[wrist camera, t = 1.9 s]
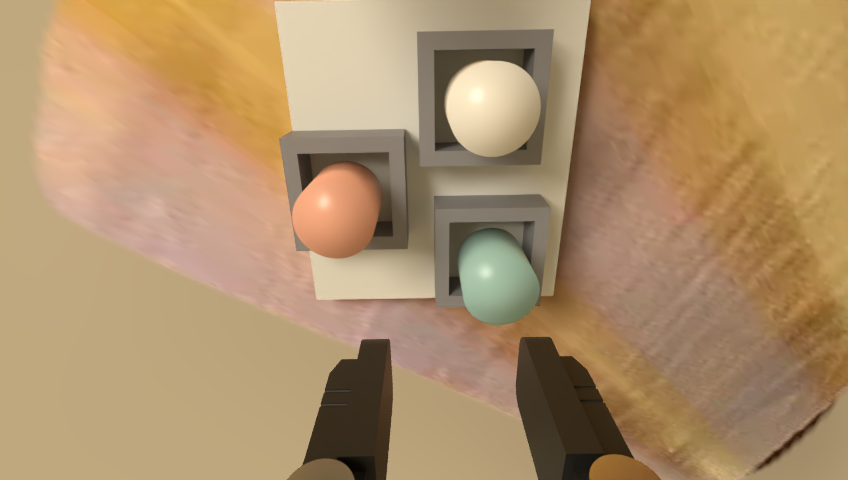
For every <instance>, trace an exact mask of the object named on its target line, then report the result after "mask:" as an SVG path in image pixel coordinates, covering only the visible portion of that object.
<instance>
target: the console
mask: <svg viewBox="0 0 848 480" xmlns="http://www.w3.org/2000/svg"><path fill="white" fill-rule="evenodd" d="M274 3H275V11H276V18H277V25H278V32H279V39H280V46H281V53H282V60H283V67H284V74H285V81H286V88H287V95H288V102H289V109H290V116H291V123H292V130H293V131H292V132H290V133H288V134H286V135H285V136H283V137H281V138H279V140H280V147H281V153H282V160H283V166H284V172H285V179H286V185H287V192H288V198H289V204H290V211H291V217H292V212H293V207H294V204H295V202H296V200H297V198H298V197H299V195H300V194H301V193H302V192H303V191H304V190H305V188H306V187H307V186H308V185H309V184H310V183H311V182H312V181H313V179H314V178H315V177H316V176H317V175H318V174H319V173H320V172H321V171H322V170H323V169H324V168H325V167H326V166H328V165H330V164H332V163H334V162H338V161H353V162H357V163H359V164H362V165H364V166H365V167H367V168H368V169H370V170H371V171H372V172H373V173H374V174H375V176H376V177H377V179H378V180H379V182H380V185H381V188H382V192H383V200H382V205H381V209H380V213H379V216H378V220H377V224H376V227H375V231H374V234H373V237H372V239H371V241H370V242H369V244H368V245H367V246H366V247H365V248H364V249H363V250H362V251H360V252H359V253H357V254H355V255H353V256H350V257H347V258H339V259H336V258H328V257H324V256H321V255H319V254H316V253H315V252H313V251H311V250H310V249H308V248H307V247H306V246H305V245H304V244H303V243H302V242H301V240H300V239H299V237H298V236H297V234H296V232H295V229H294V226H293V230H294V237H295V243H296V249H297V251H310V257H311V264H312V271H313V278H314V285H315V292H316V299H317V300H336V299H398V298H435V303H436V308H437V307H466V306H465V303H464V299H463V293H462V288H461V282H460V276H459V270H458V264H457V254H458V250H459V247H460V245H461V244H462V242H463V241H464V240H465V239H466V238H467V237H468V236H469V235H470V234H472V233H473V232H475V231H477V230H480V229H484V228H499V229H503V230H505V231H508V232H509V233H511V234H512V235H513V236H514V237H515V238H516V239H517V240H518V242H519V244H520V246H521V248H522V249H523V251H524V253H525V255H526V257H527V259H528V261H529V263H530V265H531V267H532V269H533V271H534V273H535V274H536V276H537V279H538V282H539V287H540V292H539V297H538V300H537V302H536V304H535V306H540V300H541V296H553V293H554V285H555V277H556V270H557V262H558V254H559V246H560V238H561V230H562V223H563V215H564V207H565V199H566V191H567V183H568V176H569V168H570V160H571V152H572V144H573V136H574V129H575V121H576V113H577V105H578V97H579V89H580V82H581V74H582V66H583V58H584V50H585V42H586V35H587V27H588V19H589V11H590V3H591V0H326V1H274ZM481 60H488V61H504V62H509V63H512V64H515V65H517V66H519V67H521V68H522V69H523V70H525V71H526V72H527V73H528V74H529V75H530V76H531V78H532V79H533V80H534V82H535V84H536V86H537V88H538V91H539V95H540V101H541V111H540V117H539V121H538V124H537V126H536V128H535V130H534V132H533V134H532V135H531V137H530V138H529V139H528V140H527V141H526V142H525V143H524V144H523V145H522V146H521V147H520V148H518V149H517V150H515V151H513V152H511V153H509V154H506V155H503V156H498V157H485V156H480V155H477V154H474V153H472V152H470V151H469V150H467V149H466V148H465V147H463V146H462V145H461V144H460V143H459V141H458V140H457V139H456V137H455V136H454V134H453V132H452V129H451V127H450V124H449V122H448V119H447V117H446V114H445V109H444V96H445V91H446V88H447V85H448V83H449V81H450V80H451V78H452V77H453V75H454V74H455V73H456V72H457V71H458V70H459V69H461V68H462V67H463V66H465V65H467V64H469V63H472V62H475V61H481ZM292 224H293V221H292Z"/></svg>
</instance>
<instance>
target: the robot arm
mask: <svg viewBox="0 0 848 480" xmlns="http://www.w3.org/2000/svg"><path fill="white" fill-rule="evenodd" d="M516 395H517V402H518V407H519V411H520V414H521V418H522V422H523V425H524V429H525V432H526V436H527V440H528V443H529V447H530V450H531V454H532V458H533V462H534V465H535V469H536V473H537V476H538V480H661V479H660V478H659V476H658V475H657V474H656V473H655V472H654V471H653V470H651V469H650V468H649V467H648V466H646V465H645V464H643V463H641V462H640V461H638V460H635V459H634V457H633V456H632V454H631V452H630V450H629V448H628V446H627V445H626V443H625V441H624V439H623V437H622V435H621V433H620V431H619V429H618V427H617V426H616V424H615V422H614V420H613V418H612V416H611V414H610V412H609V410H608V408H607V407H606V405H605V403H603V399H602V397H601V395H600V393H599V391H598V389H596V386H595V384H594V382H593V380H592V378H591V376H590V374H589V372H588V371H587V369H586V368H585V367H583V366H582V365H581V364H580V363H579V362H578V361H577V360H576V359H574V358H573V357H572V356H559V354H558V352H557V350H556V347H555V345H554V343H553V341H552V339H551V338H550V337H522V338H521V340H520V345H519V356H518V367H517V377H516ZM392 401H393V383H392V366H391V350H390V340H389V339H366V340H362V341H361V345H360V350H359V354H358V359H342V360H341V361H340V362H339V363H338V364H337V365H336V367H335V368H334V369H333V370H332V371H331V372H330V374H329V377H328V381H327V384H326V388H325V393H324V395H323V398H322V401H321V407H320V408H319V412H318V415H317V418H316V422H315V425H314V429H313V432H312V436H311V439H310V442H309V446H308V449H307V453H306V456H305V459H304V462H303V465H302V466H301V467H300V468H298V469H297V470H296V471H295V472H294V473H293V474H292V475H291V476H290V477H289V478H288V479H287V480H386V474H387V462H388V451H389V439H390V427H391V416H392Z"/></svg>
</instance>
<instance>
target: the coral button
mask: <svg viewBox="0 0 848 480" xmlns="http://www.w3.org/2000/svg"><path fill="white" fill-rule="evenodd" d="M382 200H383V192H382V188H381V185H380V182H379V180H378V179H377V177H376V176H375V174H374V173H373V172H372V171H371V170H370V169H368V168H367V167H365V166H364V165H362V164H359V163H357V162H353V161H338V162H334V163H332V164H330V165H328V166H326V167H325V168H324V169H323V170H322V171H321V172H320V173H319V174H318V175H317V176H316V177H315V178H314V179H313V181H312V182H311V183H310V184H309V185H308V186H307V187H306V188H305V190H304V191H303V192H302V193H301V194H300V195H299V197H298V198H297V200H296V202H295V204H294V207H293V212H292V221H293V226H294V229H295V232H296V234H297V236H298V237H299V239H300V240H301V242H302V243H303V244H304V245H305V246H306V247H307V248H308V249H310V250H311V251H313V252H315V253H316V254H319V255H321V256H324V257H328V258H336V259H339V258H347V257H350V256H353V255H355V254H357V253H359V252H360V251H362V250H363V249H364V248H365V247H366V246H367V245H368V244H369V242H370V241H371V239H372V237H373V234H374V231H375V227H376V224H377V220H378V216H379V213H380V209H381V205H382Z"/></svg>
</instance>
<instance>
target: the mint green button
mask: <svg viewBox="0 0 848 480" xmlns="http://www.w3.org/2000/svg"><path fill="white" fill-rule="evenodd" d="M457 264H458V270H459V276H460V282H461V288H462V293H463V299H464V303H465V306H466V308H467V309H468V311H469V312H470V313H471V314H472V315H473V316H474V317H475V318H477V319H478V320H480V321H482V322H485V323H488V324H494V325H503V324H509V323H512V322H515V321H518V320H519V319H521V318H523V317H524V316H526V315H527V314H528V313H529V312H530V311H531V310H532V309H533V307H534V306H535V304H536V302H537V300H538V297H539V292H540V287H539V282H538V279H537V276H536V274H535V273H534V271H533V269H532V267H531V265H530V263H529V261H528V259H527V257H526V255H525V253H524V251H523V249H522V248H521V246H520V244H519V242H518V240H517V239H516V238H515V237H514V236H513V235H512V234H511V233H509V232H508V231H505V230H503V229H499V228H484V229H480V230H477V231H475V232H473V233H472V234H470V235H469V236H468V237H467V238H466V239H465V240H464V241H463V242H462V244H461V245H460V247H459V250H458V254H457Z"/></svg>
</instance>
